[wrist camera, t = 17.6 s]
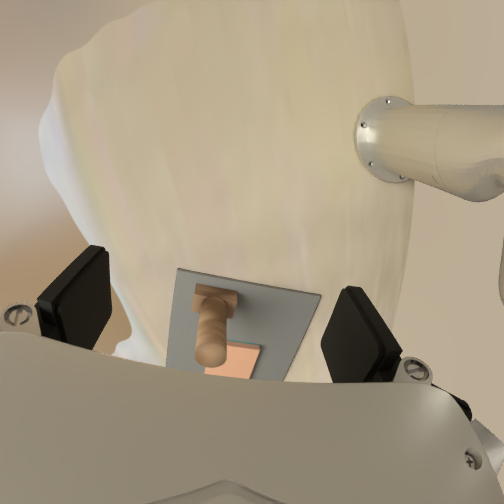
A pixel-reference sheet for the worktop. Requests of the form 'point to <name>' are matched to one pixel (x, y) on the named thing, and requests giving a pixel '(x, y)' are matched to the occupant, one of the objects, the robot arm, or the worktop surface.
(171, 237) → the worktop surface
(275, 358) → the mat
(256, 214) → the worktop surface
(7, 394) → the robot arm
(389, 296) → the worktop surface
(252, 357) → the tile
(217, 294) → the wooden rubber stamp
